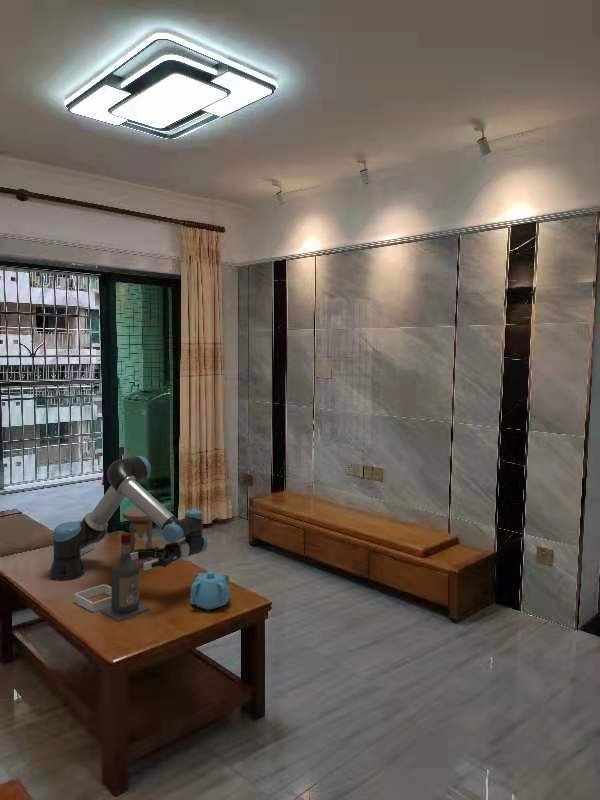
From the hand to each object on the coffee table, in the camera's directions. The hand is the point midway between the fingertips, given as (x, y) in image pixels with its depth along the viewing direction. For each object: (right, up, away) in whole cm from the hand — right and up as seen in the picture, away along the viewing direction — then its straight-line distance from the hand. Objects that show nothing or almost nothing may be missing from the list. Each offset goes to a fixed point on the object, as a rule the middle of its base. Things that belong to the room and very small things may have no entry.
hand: (133, 563), depth 232 cm
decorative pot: (+29, -19, +7) cm, 36 cm away
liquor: (-3, -18, -1) cm, 18 cm away
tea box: (-48, -14, +67) cm, 83 cm away
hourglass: (-13, -15, +57) cm, 60 cm away
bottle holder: (-16, -18, +7) cm, 25 cm away
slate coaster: (-3, -19, -1) cm, 19 cm away
